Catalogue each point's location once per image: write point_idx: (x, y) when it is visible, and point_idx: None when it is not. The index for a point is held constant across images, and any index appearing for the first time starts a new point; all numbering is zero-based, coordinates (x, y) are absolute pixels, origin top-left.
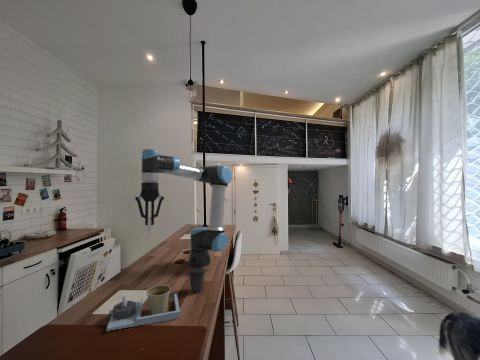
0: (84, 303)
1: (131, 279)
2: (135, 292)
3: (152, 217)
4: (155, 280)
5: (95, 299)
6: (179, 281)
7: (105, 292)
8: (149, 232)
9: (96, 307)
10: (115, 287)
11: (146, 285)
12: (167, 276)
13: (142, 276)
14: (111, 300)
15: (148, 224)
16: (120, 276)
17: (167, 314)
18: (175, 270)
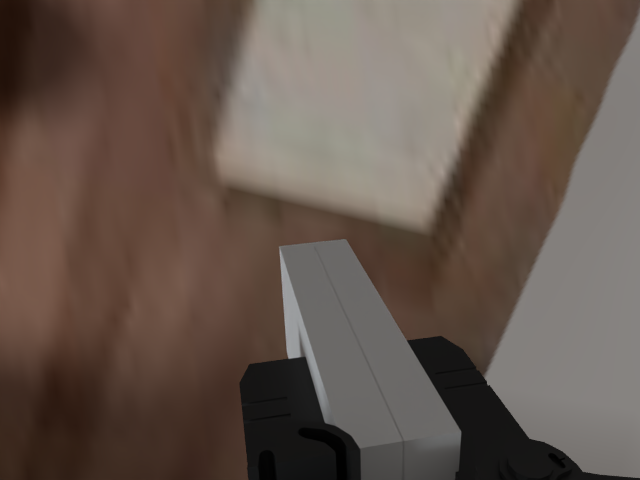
0: (587, 96)
1: None
2: (329, 165)
3: (302, 455)
4: (222, 318)
5: (540, 131)
6: (40, 269)
7: (500, 210)
8: (310, 245)
9: (522, 22)
10: (454, 265)
11: (272, 253)
12: (144, 367)
13: None
14: (455, 91)
15: (376, 325)
16: None
17: None
18: (97, 457)
